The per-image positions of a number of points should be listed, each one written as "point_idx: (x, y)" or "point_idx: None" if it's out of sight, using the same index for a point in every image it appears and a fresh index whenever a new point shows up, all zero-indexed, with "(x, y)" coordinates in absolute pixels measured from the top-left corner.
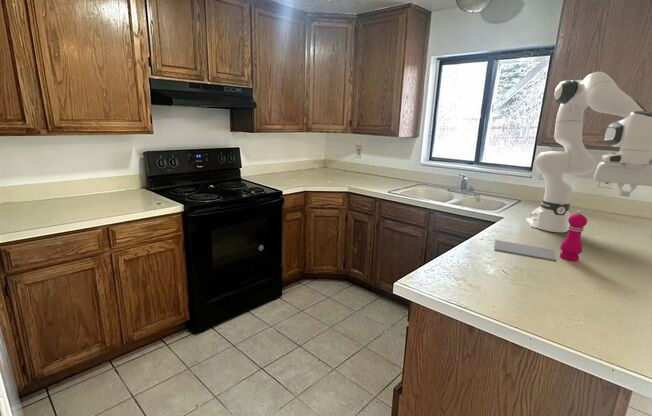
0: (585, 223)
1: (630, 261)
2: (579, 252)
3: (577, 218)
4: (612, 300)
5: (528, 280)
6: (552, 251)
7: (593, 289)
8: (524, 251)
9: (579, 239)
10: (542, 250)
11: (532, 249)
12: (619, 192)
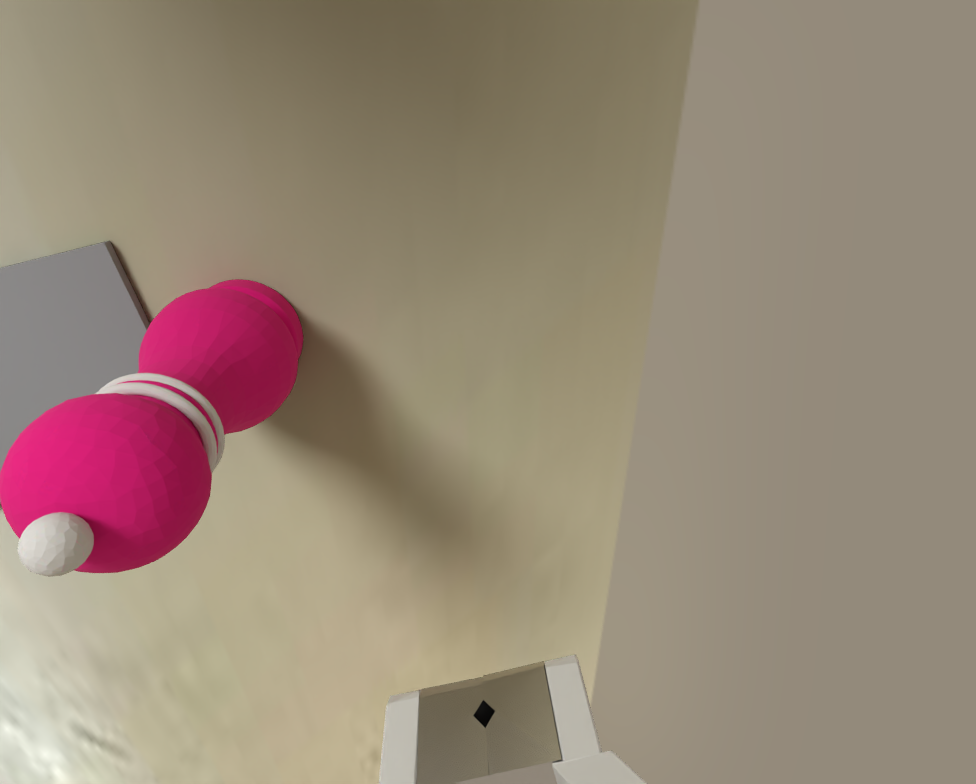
0: (204, 508)
1: (598, 40)
2: (289, 392)
3: (108, 572)
4: None
5: (208, 748)
6: (122, 297)
7: (428, 662)
8: (2, 443)
9: (240, 418)
10: (66, 330)
11: (11, 361)
12: (391, 768)
